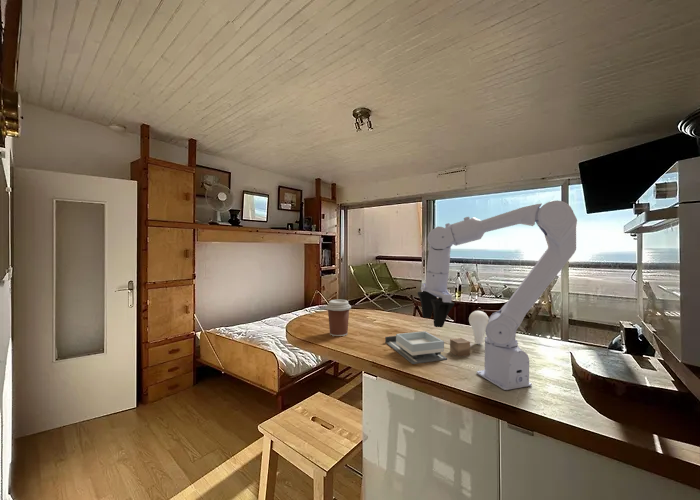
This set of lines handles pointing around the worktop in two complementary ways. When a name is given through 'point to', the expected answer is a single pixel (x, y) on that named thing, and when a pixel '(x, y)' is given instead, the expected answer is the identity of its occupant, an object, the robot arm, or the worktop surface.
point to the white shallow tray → (420, 343)
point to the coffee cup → (338, 317)
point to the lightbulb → (478, 325)
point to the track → (419, 359)
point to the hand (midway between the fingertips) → (432, 322)
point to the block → (460, 347)
